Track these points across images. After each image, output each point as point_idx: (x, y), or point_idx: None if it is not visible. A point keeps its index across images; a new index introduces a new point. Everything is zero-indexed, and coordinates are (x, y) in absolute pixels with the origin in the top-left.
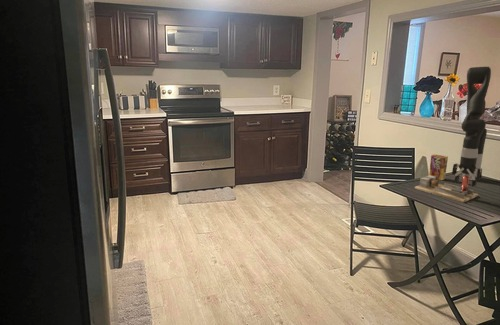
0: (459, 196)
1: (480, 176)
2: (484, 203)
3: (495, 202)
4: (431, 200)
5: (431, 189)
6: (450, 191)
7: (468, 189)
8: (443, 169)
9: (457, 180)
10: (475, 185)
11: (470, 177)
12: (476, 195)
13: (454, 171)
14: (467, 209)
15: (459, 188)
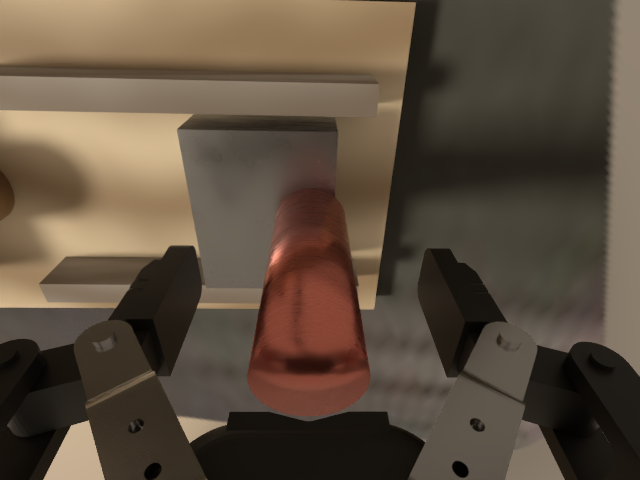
0: None
1: (636, 417)
2: (515, 187)
3: (613, 67)
4: (211, 392)
5: (32, 265)
6: (224, 299)
7: (336, 161)
8: None
9: (191, 304)
10: (463, 269)
11: None
12: (407, 57)
13: (44, 474)
14: (438, 370)
15: (244, 209)
